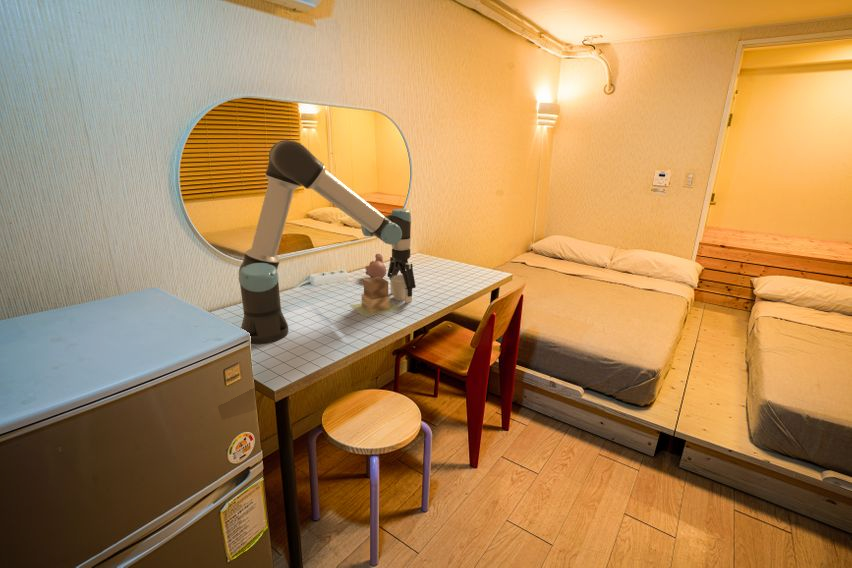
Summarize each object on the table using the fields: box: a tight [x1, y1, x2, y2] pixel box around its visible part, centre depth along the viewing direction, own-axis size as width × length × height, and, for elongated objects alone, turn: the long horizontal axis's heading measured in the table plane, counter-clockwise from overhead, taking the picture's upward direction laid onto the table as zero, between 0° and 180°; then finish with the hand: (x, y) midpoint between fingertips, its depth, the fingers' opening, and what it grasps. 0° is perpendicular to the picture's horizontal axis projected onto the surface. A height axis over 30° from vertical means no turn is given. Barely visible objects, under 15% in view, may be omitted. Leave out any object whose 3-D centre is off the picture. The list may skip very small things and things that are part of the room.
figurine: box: [364, 253, 387, 279], centre depth 198 cm, size 9×11×12 cm
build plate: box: [349, 300, 402, 318], centre depth 163 cm, size 16×13×1 cm
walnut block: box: [363, 277, 389, 299], centre depth 160 cm, size 7×7×6 cm
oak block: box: [361, 293, 390, 312], centre depth 162 cm, size 8×8×5 cm
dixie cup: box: [391, 274, 406, 301], centre depth 172 cm, size 8×8×10 cm
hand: (400, 298), depth 173 cm, fingers open, 11 cm apart
